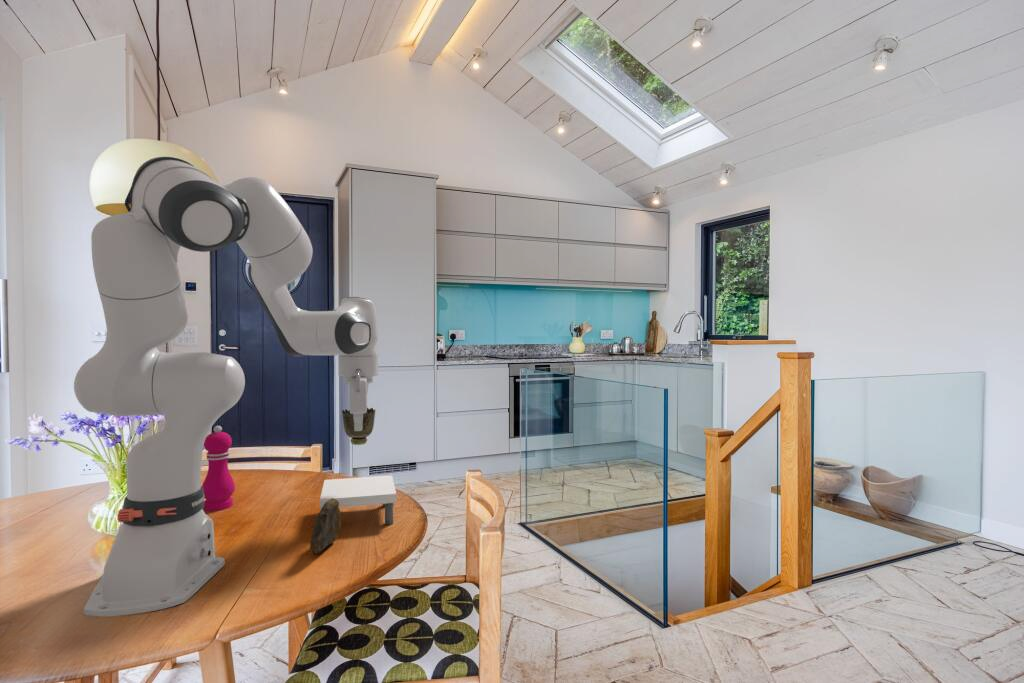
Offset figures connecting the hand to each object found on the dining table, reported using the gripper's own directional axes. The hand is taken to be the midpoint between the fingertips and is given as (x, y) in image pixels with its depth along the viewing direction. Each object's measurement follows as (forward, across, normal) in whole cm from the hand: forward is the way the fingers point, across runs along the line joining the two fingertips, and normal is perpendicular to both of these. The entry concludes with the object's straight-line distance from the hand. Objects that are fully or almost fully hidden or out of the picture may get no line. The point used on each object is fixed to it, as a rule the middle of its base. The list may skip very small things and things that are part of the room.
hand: (358, 427), depth 124 cm
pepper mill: (+21, +16, +33) cm, 42 cm away
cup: (+4, 0, 0) cm, 4 cm away
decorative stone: (+21, -18, +6) cm, 28 cm away
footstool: (+21, 0, 0) cm, 21 cm away
